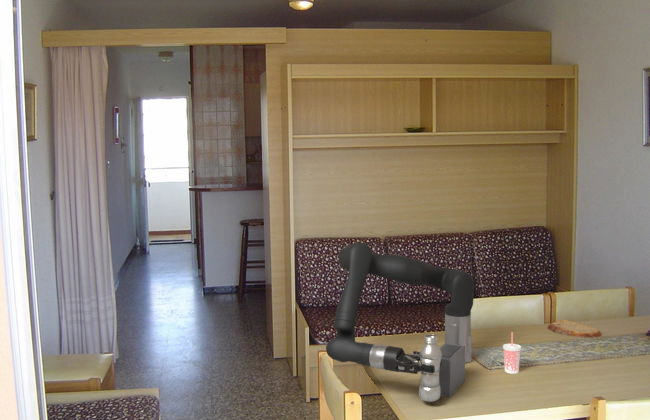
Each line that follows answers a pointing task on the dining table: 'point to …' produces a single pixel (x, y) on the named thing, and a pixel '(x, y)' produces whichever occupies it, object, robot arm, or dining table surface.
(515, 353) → the beverage cup
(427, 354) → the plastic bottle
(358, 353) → the robot arm
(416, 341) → the dining table surface
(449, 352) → the box
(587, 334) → the slice of bread
